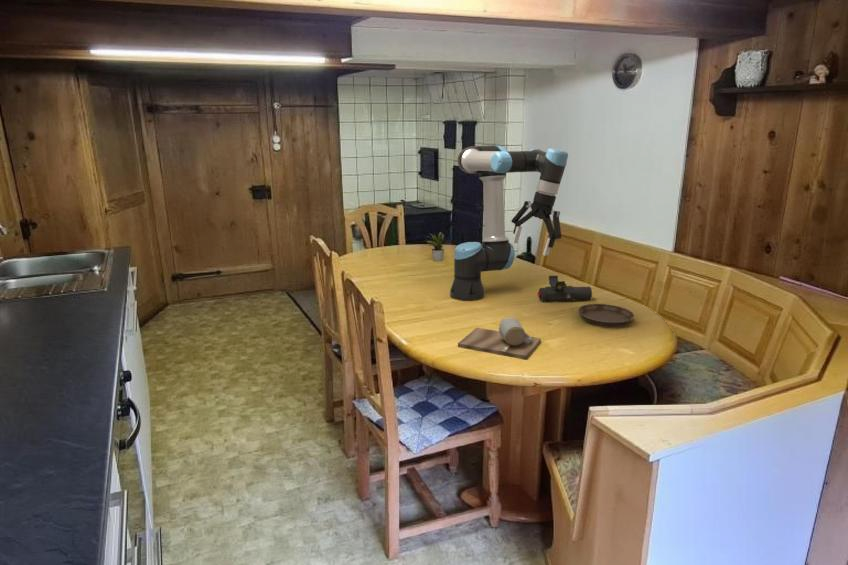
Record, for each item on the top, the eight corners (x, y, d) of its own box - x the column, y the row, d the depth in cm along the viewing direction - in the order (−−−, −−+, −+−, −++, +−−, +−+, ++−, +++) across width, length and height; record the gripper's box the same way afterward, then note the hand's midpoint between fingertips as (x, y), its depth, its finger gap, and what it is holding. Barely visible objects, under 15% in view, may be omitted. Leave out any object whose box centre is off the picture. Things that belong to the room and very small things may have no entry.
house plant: (426, 256, 318) (426, 228, 314) (450, 257, 316) (450, 229, 312) (423, 262, 305) (423, 233, 300) (448, 263, 303) (448, 233, 298)
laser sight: (593, 303, 234) (595, 280, 231) (541, 305, 232) (542, 282, 229) (584, 296, 243) (586, 274, 240) (534, 298, 241) (536, 276, 238)
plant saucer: (645, 326, 207) (646, 317, 206) (597, 332, 201) (597, 323, 200) (612, 309, 226) (612, 301, 225) (567, 314, 220) (568, 306, 219)
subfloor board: (457, 346, 188) (457, 342, 187) (476, 330, 202) (476, 327, 202) (526, 359, 177) (526, 355, 177) (540, 341, 192) (540, 337, 191)
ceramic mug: (504, 347, 183) (506, 325, 181) (497, 338, 191) (499, 317, 189) (535, 346, 185) (537, 325, 183) (527, 337, 193) (529, 316, 190)
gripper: (581, 203, 193) (563, 259, 199) (523, 184, 207) (508, 237, 214) (572, 202, 187) (553, 261, 194) (512, 183, 202) (497, 238, 208)
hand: (529, 249), depth 204 cm, fingers open, 13 cm apart
